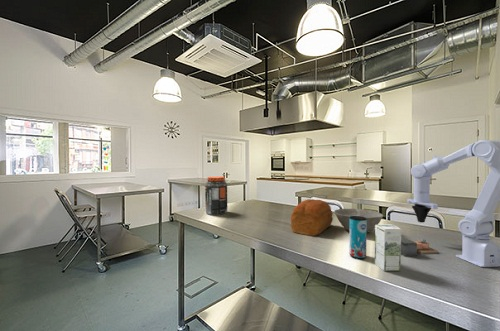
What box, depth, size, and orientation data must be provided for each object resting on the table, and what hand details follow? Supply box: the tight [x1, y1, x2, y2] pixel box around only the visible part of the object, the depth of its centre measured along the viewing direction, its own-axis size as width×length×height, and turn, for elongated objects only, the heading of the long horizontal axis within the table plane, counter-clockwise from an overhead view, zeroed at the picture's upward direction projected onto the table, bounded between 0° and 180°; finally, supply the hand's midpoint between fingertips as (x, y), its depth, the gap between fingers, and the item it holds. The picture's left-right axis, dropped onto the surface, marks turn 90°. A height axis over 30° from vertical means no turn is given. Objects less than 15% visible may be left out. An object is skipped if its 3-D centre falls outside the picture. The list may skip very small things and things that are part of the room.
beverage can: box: [349, 216, 368, 260], centre depth 90 cm, size 6×6×15 cm
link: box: [414, 238, 430, 249], centre depth 96 cm, size 14×4×3 cm, turn 91°
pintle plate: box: [417, 246, 439, 255], centre depth 96 cm, size 7×7×1 cm
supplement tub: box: [204, 176, 228, 216], centre depth 167 cm, size 16×16×26 cm
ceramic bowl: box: [333, 208, 384, 233], centre depth 122 cm, size 22×23×10 cm
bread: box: [290, 198, 334, 237], centre depth 128 cm, size 16×27×16 cm, turn 145°
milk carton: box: [374, 223, 402, 272], centre depth 80 cm, size 6×6×14 cm
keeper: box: [401, 236, 418, 257], centre depth 94 cm, size 8×5×5 cm, turn 4°
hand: (421, 222), depth 104 cm, fingers closed
